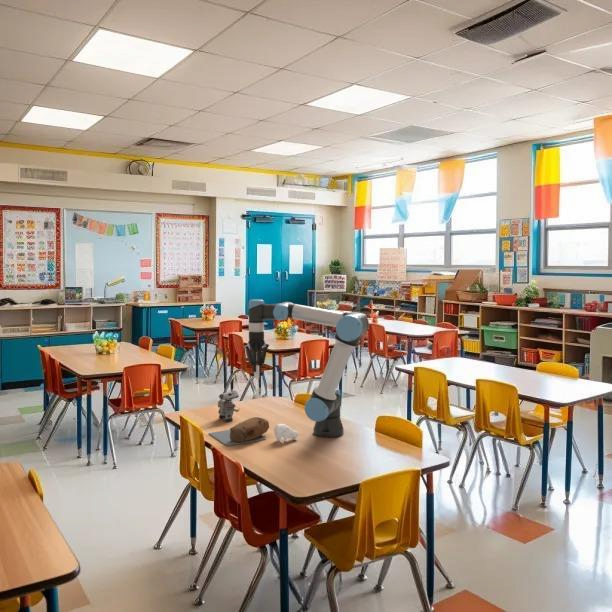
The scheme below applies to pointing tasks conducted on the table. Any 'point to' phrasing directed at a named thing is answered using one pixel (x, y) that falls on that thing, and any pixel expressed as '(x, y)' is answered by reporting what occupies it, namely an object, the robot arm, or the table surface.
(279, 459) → the table surface
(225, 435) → the mat
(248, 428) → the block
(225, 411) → the figurine
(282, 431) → the white lumpy piece
